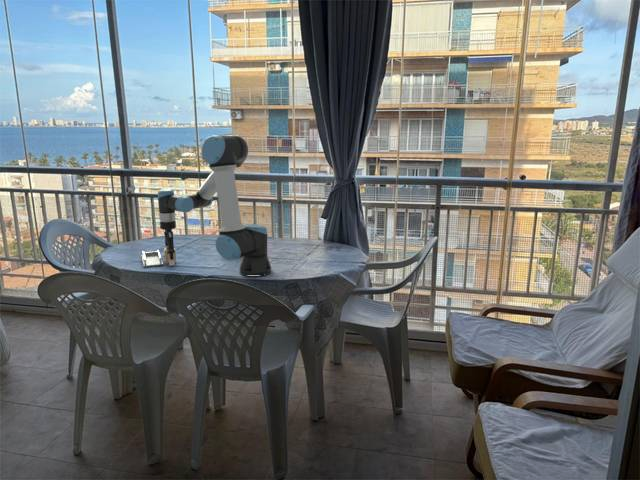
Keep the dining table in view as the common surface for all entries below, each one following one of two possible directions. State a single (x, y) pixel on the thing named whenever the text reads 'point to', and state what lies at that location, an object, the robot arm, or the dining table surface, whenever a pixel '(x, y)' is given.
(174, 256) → the module
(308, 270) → the dining table surface
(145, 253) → the white tray
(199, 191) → the robot arm
